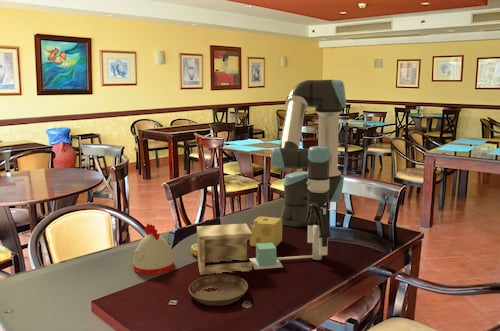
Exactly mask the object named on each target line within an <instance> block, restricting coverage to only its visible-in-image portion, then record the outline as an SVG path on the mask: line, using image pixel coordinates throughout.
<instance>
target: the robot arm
mask: <svg viewBox="0 0 500 331" xmlns="http://www.w3.org/2000/svg"><path fill="white" fill-rule="evenodd" d="M346 107H347V100H346V89H345V84H344V82H343V81H342V80H341V79H340V80H339V79H315V80H314V79H308V80H303V81H301V82H299V83H298V84H296V85H295V86H294V87H293V88H292V89H291V90H290V91H289V92H288V94H287V96H286V99H285V108H286V112H285V116H284V120H283V125H282V126H283V127H282V131H281V135H280V141H279V146H278V147H273V149H272V150H271V165H272V167H274V168H280V169H303V170H305V169H307V171H303V170H302V171H294V172H290V173H287V174H286V175H285V176H284V181H283V183H284V184H283V190H284V191H283V199H284V200H283V208H282V210H281V214H280V217H279V218H282V225H284V226H288V227H295V228H296V227H297V228H298V227H300V228H301V227H307V243H308V244H313V226H314V225H319V230H320V236H319V238H320V242H319V255H322V256H328V251H329V250H328V246H329V243H328V238H331V228H330V227H331V226H330V220H329V208H328V207H325V204H326V203H338V202H340V201H341V200H342V199H341V198H342V193H343V187H344V182H345V177H344V176H342V172H341V171H340V170H339V169H338V167H339V161H338V160H339V124H340V122H339V121H340V119H339V118H340V115H341V114H342V113H343V109H344V108H346ZM308 108H315V110H314V112H315V113H316V114H317V115H318V141H317V142H318V145H317V146H309V148H300V143H301V136H302V131H303V124H304V119H305V118H304V117H305V112H306V111H307V110H308ZM316 221H317V223H318V224H317V223H316Z"/></svg>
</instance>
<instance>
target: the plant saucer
mask: <svg viewBox="0 0 500 331" xmlns="http://www.w3.org/2000/svg"><path fill="white" fill-rule="evenodd" d="M213 287H214V288H215V289H216V288H218V289H217V290H216V291H213V292H212V291H210V292H207V291H204V289H208V288H213ZM248 288H249V284H248V282H247V281H246V280H245V279H244V278H241V277H240V276H236V275H232V274H223V273H220V274H209V275H206V276H202V277H200V278H198V279H196V280H194V281H192V282H191V283H190V284H189V286H188V292H189V294H190V295H191V296H192V298H194V300H196V301H197V302H199V303H200V304H202V305H207V306H214V307H215V306H216V307H218V306H228V305H231V304H234V303H235V302H237V301H238V300H239V301H240V299H241V298H242V297H243V296H244V295H245V294H246V292H247V291H248ZM219 289H220V290H219ZM199 290H200V291H199ZM202 290H203V291H202ZM218 290H219V291H218Z"/></svg>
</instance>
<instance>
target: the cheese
mask: <svg viewBox="0 0 500 331" xmlns="http://www.w3.org/2000/svg"><path fill="white" fill-rule="evenodd" d="M250 231H251V232H252V237H249V238H250V239H249V245H250V247H256V244H260V243H273V244H274V246H275V247H276V248H277V246H279V244H280V243H282V242H283V241H282V240H283V224H282V218H280V217H274V216H273V217H270V216H262V215H259V216H258V217H256V218H255V219H254V220H253V225H252V226H251V228H250Z"/></svg>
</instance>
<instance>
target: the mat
mask: <svg viewBox="0 0 500 331" xmlns="http://www.w3.org/2000/svg"><path fill="white" fill-rule="evenodd" d="M276 258H278V256H276ZM248 259H249V262H252V268H253V269H254V270H265V269H266V270H267V269H276V268H284V266H283V264H282V263H281V261H280V260H276V265H266V266H259V264H258V262H257V261H256V257H252V258H248Z"/></svg>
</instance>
